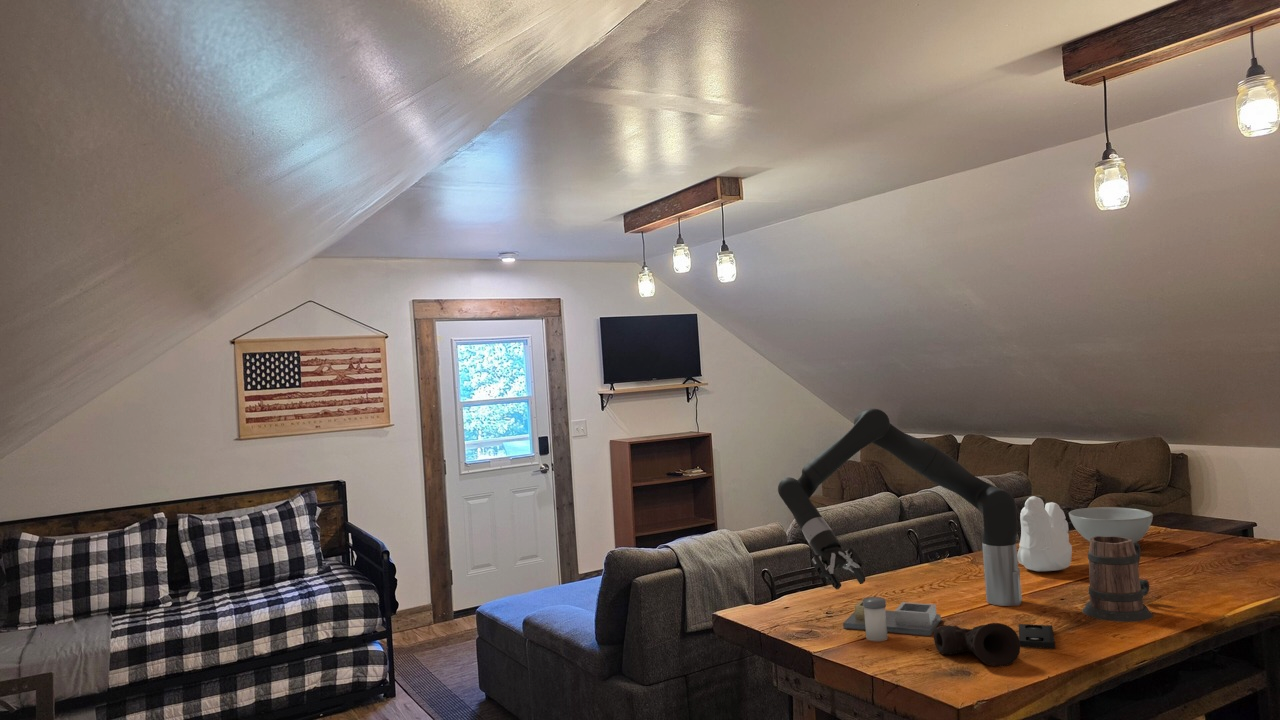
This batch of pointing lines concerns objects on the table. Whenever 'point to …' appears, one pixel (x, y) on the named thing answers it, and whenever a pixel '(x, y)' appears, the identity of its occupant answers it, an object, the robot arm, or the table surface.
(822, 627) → the table surface
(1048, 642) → the vhs tape
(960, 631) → the pipe
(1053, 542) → the white figurine
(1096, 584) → the tankard
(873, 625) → the grey and white cylinder
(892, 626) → the plate
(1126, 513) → the decorative bowl
